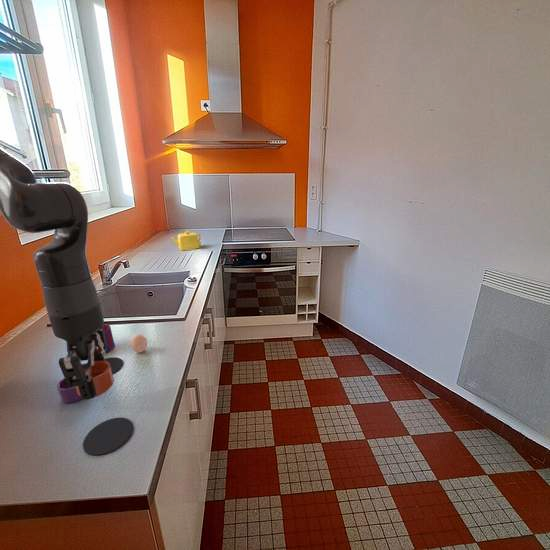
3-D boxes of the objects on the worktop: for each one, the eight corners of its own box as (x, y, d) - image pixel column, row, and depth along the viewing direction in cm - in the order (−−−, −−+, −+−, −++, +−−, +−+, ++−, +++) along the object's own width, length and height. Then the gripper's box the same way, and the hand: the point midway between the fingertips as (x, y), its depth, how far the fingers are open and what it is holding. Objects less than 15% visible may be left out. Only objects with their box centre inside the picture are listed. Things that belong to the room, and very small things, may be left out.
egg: (134, 357, 87) (130, 340, 85) (130, 350, 90) (127, 334, 88) (150, 352, 89) (147, 335, 87) (146, 345, 92) (143, 329, 91)
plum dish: (56, 405, 69) (52, 391, 68) (68, 388, 75) (63, 375, 73) (85, 401, 70) (81, 387, 69) (94, 384, 76) (90, 371, 75)
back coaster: (80, 380, 77) (80, 379, 77) (93, 360, 86) (92, 359, 86) (118, 375, 79) (118, 374, 79) (126, 356, 88) (126, 355, 87)
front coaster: (75, 460, 56) (75, 459, 56) (92, 422, 64) (92, 421, 64) (127, 450, 58) (127, 449, 57) (137, 415, 66) (137, 414, 66)
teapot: (174, 252, 202) (171, 234, 198) (171, 248, 212) (169, 231, 209) (203, 248, 210) (201, 231, 206) (200, 244, 220) (198, 228, 216)
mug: (87, 357, 87) (82, 337, 85) (93, 340, 96) (88, 321, 94) (113, 352, 90) (108, 332, 87) (117, 336, 98) (112, 317, 96)
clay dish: (72, 401, 54) (67, 383, 52) (85, 380, 59) (80, 363, 58) (109, 396, 55) (104, 377, 54) (117, 375, 60) (113, 358, 59)
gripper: (67, 291, 57) (88, 366, 63) (25, 327, 44) (56, 418, 50) (110, 287, 59) (126, 360, 64) (81, 321, 45) (105, 409, 51)
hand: (95, 385), depth 57 cm, fingers closed on clay dish, 6 cm apart
